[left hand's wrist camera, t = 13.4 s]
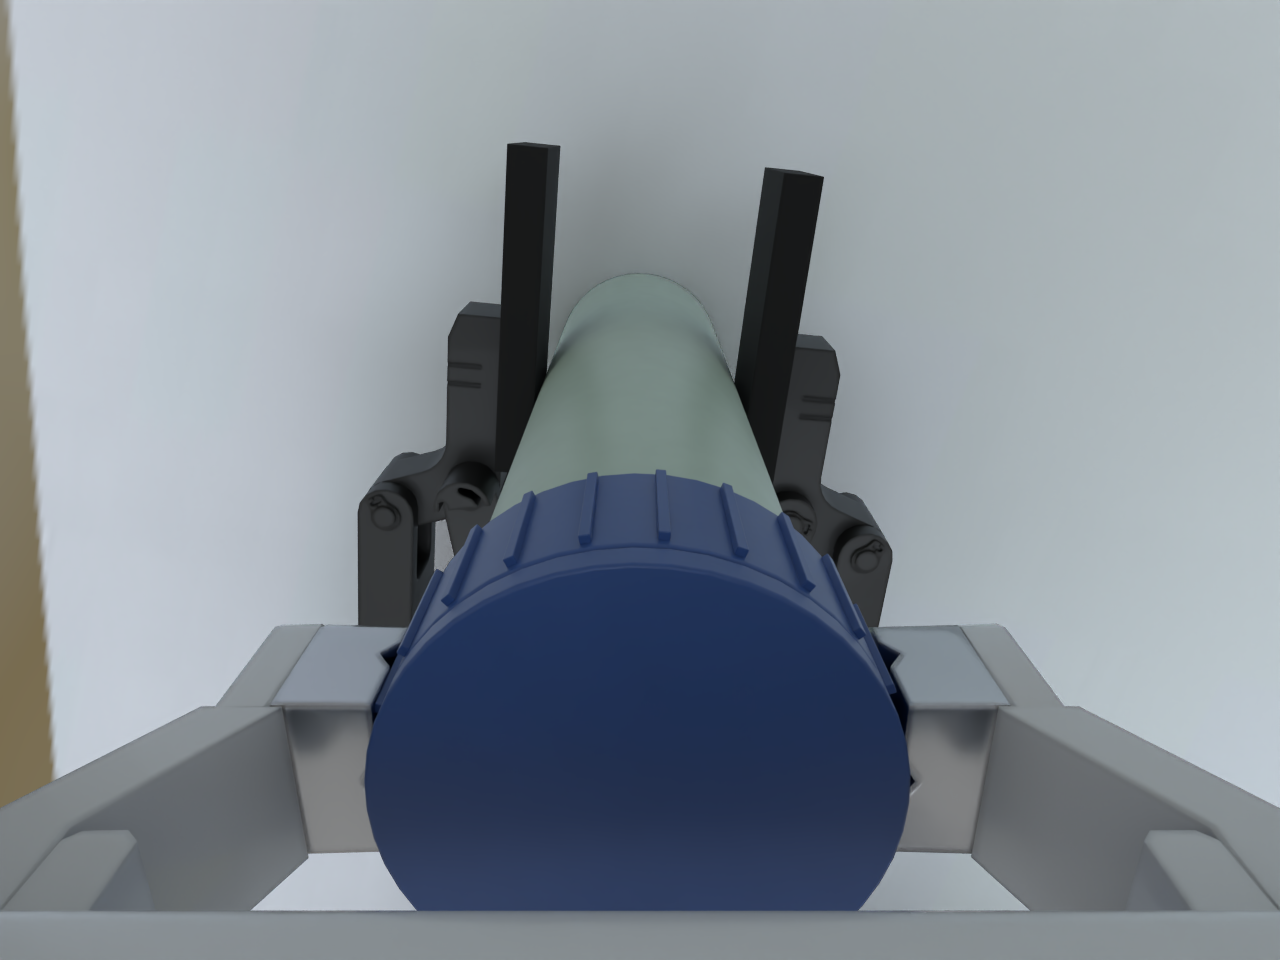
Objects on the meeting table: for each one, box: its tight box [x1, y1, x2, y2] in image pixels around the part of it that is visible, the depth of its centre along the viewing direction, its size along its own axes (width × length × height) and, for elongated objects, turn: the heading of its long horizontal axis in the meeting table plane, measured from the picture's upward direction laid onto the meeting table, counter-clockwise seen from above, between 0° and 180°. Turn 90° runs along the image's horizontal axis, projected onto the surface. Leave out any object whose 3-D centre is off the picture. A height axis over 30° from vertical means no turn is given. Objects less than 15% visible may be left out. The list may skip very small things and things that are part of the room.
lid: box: [364, 469, 911, 911], centre depth 9 cm, size 5×5×2 cm
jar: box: [490, 273, 783, 521], centre depth 17 cm, size 4×4×18 cm
